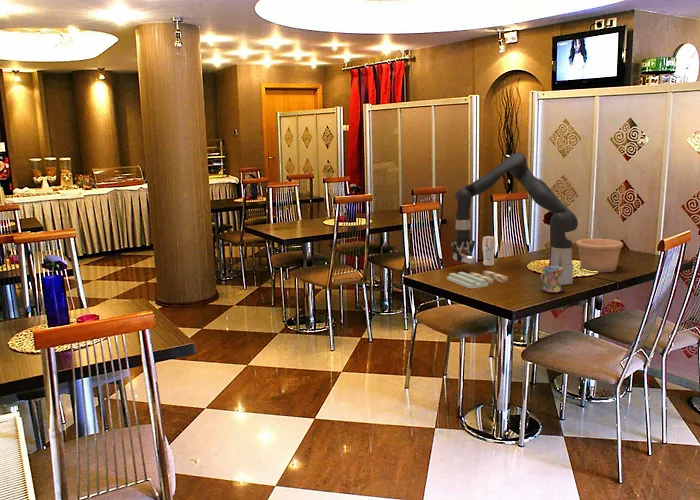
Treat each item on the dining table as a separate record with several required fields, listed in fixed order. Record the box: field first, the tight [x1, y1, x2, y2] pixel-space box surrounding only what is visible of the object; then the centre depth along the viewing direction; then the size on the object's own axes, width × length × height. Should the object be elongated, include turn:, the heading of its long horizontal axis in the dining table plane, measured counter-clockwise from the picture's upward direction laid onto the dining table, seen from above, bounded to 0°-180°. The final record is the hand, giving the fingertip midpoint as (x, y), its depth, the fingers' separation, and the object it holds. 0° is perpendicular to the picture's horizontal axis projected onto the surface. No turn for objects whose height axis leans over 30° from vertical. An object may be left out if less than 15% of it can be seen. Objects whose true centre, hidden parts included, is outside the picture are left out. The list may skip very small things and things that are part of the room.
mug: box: [540, 265, 564, 294], centre depth 262 cm, size 12×9×11 cm
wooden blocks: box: [468, 270, 509, 286], centre depth 286 cm, size 16×11×2 cm
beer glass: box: [481, 235, 496, 266], centre depth 319 cm, size 7×7×15 cm
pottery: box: [575, 238, 624, 273], centre depth 300 cm, size 22×22×14 cm
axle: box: [452, 253, 478, 266], centre depth 304 cm, size 16×4×4 cm, turn 23°
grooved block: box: [446, 271, 489, 289], centre depth 282 cm, size 20×10×3 cm, turn 22°
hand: (463, 260), depth 305 cm, fingers closed on axle, 4 cm apart
